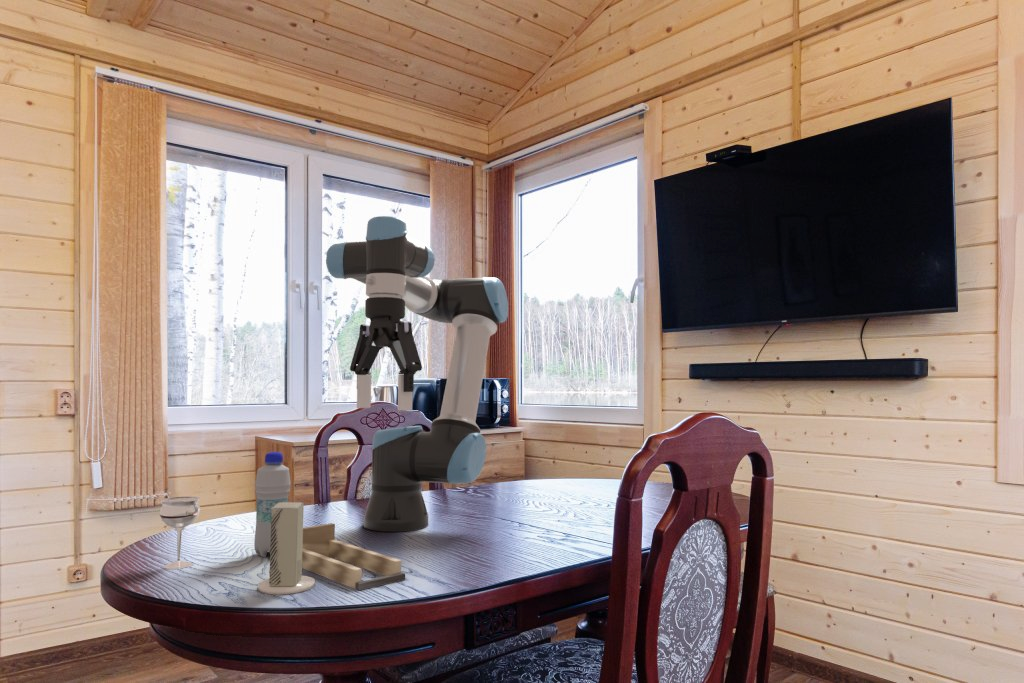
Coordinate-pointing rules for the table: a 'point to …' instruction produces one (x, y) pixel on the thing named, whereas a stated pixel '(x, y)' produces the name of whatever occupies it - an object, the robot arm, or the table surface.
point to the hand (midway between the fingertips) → (383, 409)
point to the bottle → (269, 497)
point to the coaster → (301, 586)
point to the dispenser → (345, 559)
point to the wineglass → (179, 521)
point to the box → (286, 544)
